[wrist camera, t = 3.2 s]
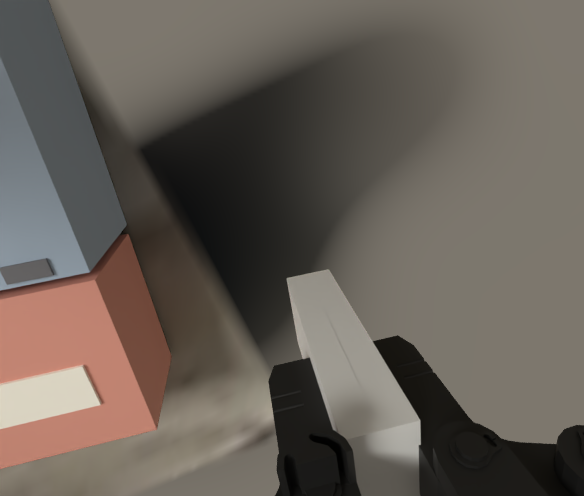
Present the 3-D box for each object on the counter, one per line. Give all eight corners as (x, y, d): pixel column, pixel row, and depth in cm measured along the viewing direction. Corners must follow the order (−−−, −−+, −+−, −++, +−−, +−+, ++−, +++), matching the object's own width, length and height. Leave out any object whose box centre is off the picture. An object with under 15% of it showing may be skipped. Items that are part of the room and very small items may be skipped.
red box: (-42, 406, 16) (-126, 503, 12) (-126, 283, 13) (-265, 355, 9) (171, 356, 16) (156, 431, 13) (128, 233, 14) (93, 281, 10)
